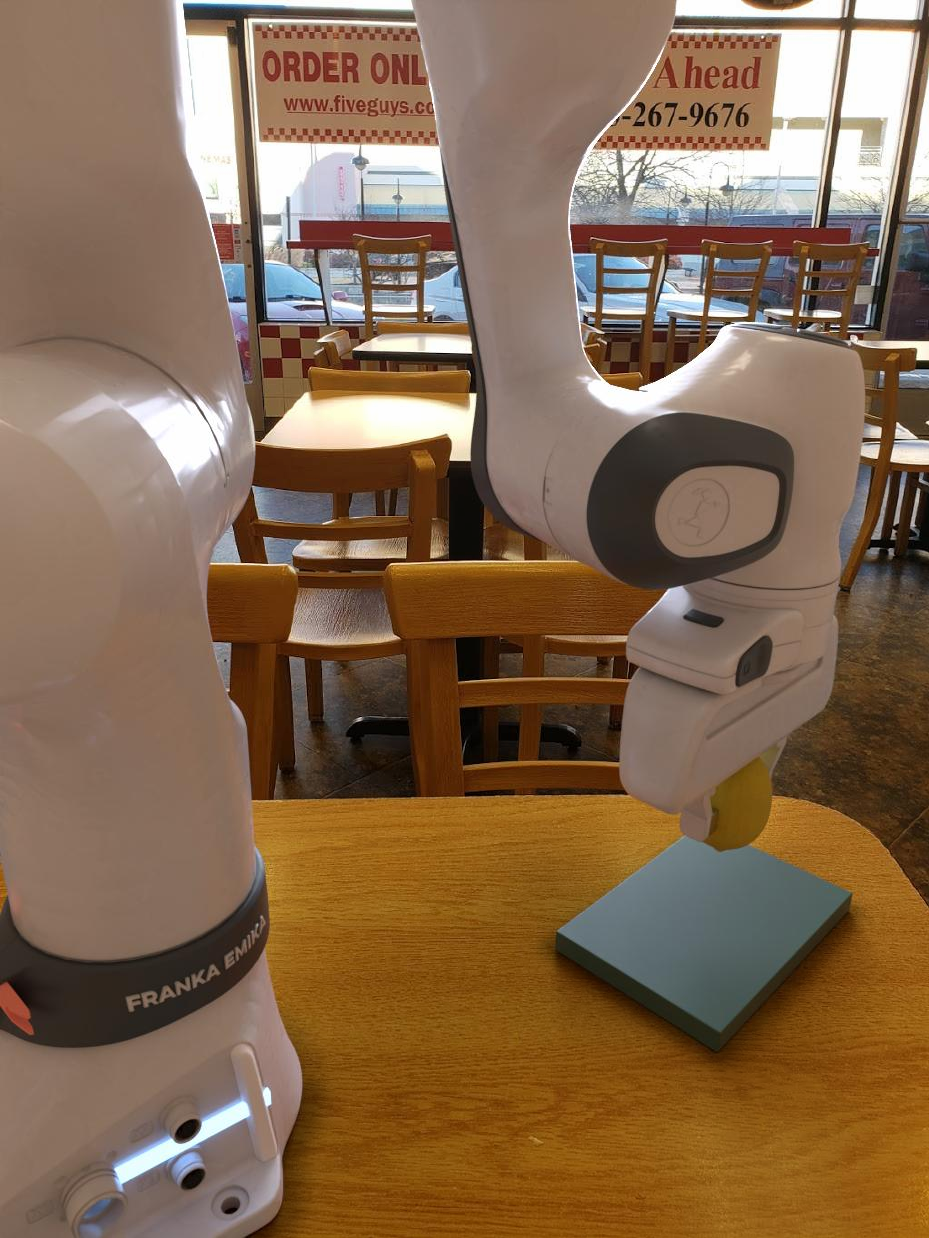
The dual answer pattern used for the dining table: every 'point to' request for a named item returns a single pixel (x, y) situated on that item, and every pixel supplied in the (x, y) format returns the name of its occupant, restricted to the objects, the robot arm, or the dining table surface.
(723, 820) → the lemon
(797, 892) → the cutting board
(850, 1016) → the dining table surface
